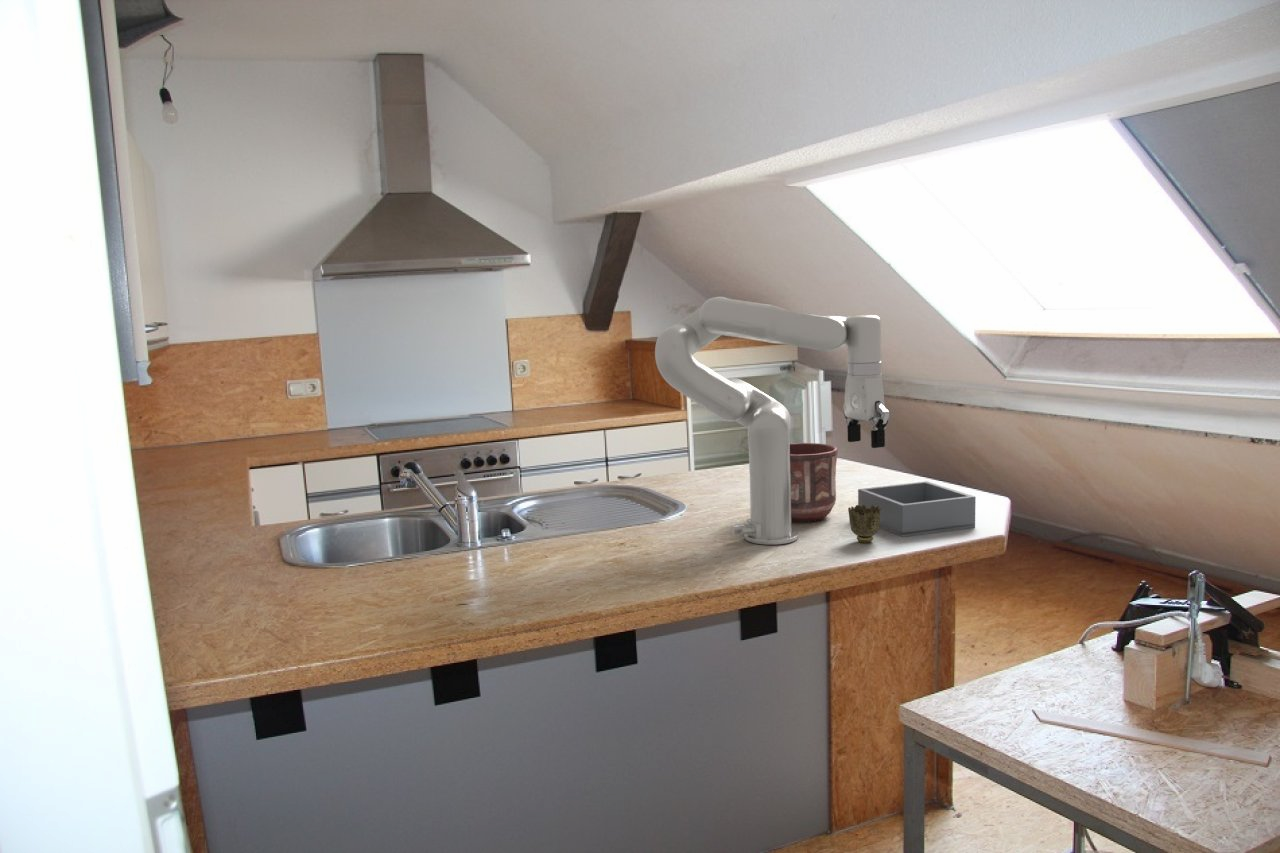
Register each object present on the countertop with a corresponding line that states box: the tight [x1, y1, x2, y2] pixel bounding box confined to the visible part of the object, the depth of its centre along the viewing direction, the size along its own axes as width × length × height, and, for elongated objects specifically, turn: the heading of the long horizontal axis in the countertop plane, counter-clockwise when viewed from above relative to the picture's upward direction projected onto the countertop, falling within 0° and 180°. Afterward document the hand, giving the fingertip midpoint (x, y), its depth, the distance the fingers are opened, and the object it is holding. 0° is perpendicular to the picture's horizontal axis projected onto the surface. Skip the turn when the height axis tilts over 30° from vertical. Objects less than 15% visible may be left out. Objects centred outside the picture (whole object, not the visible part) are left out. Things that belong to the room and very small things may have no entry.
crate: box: [857, 480, 976, 538], centre depth 237 cm, size 20×20×8 cm
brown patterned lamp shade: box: [847, 504, 881, 544], centre depth 222 cm, size 8×7×8 cm
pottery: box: [790, 442, 839, 524], centre depth 246 cm, size 18×18×18 cm
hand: (865, 444), depth 221 cm, fingers open, 9 cm apart
